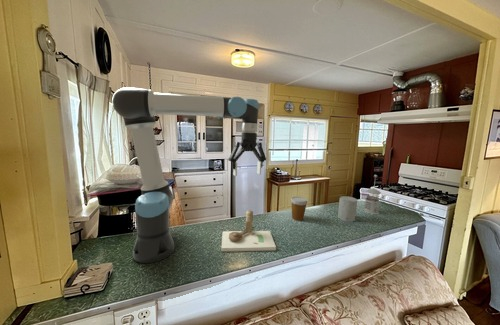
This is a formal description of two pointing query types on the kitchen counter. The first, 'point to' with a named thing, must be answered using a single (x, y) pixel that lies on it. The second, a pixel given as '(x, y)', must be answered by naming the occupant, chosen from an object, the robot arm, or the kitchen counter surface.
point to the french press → (372, 201)
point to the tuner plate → (249, 242)
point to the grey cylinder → (347, 208)
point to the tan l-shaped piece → (238, 236)
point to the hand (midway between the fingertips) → (247, 174)
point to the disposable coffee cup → (298, 208)
